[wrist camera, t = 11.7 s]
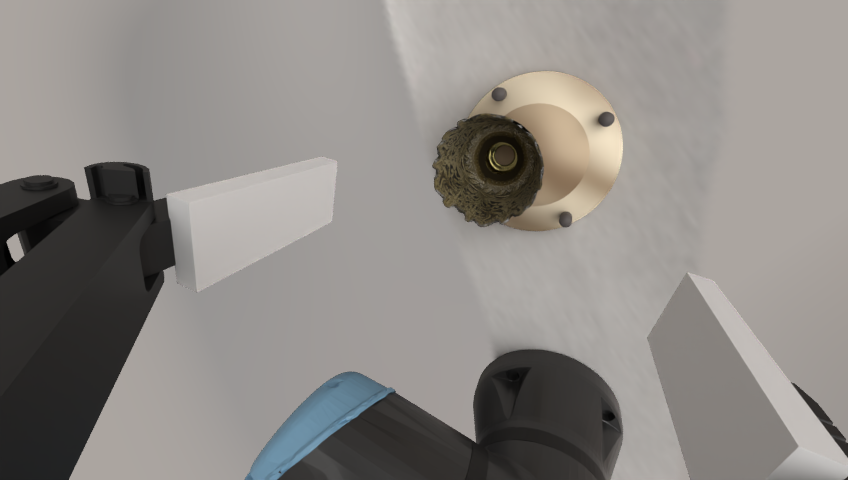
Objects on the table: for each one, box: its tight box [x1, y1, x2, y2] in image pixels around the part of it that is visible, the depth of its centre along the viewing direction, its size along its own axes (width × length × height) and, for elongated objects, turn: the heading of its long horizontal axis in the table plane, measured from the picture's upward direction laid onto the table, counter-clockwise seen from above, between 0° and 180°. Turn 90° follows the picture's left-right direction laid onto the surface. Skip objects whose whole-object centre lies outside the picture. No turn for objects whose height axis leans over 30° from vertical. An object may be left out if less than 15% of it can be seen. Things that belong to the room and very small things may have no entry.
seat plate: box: [468, 71, 623, 231], centre depth 30 cm, size 13×13×3 cm
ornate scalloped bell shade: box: [432, 113, 544, 227], centre depth 27 cm, size 8×7×8 cm
